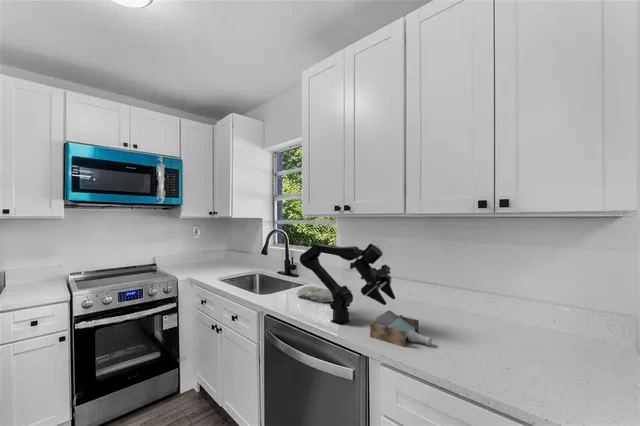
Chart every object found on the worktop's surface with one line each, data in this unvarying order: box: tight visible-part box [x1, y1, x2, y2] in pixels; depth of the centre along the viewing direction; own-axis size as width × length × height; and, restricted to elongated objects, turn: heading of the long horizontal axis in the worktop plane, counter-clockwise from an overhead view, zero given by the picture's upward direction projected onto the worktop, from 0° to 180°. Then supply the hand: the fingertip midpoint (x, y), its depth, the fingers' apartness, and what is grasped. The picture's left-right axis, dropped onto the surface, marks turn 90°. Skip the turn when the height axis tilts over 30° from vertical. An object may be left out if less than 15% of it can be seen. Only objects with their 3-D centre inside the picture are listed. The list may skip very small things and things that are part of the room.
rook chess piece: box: [407, 330, 433, 347], centre depth 108 cm, size 4×4×8 cm
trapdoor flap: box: [375, 309, 416, 339], centre depth 115 cm, size 12×12×2 cm
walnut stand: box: [369, 314, 420, 348], centre depth 116 cm, size 14×16×6 cm
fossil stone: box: [296, 285, 334, 303], centre depth 166 cm, size 28×15×5 cm, turn 50°
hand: (390, 301), depth 117 cm, fingers open, 9 cm apart
